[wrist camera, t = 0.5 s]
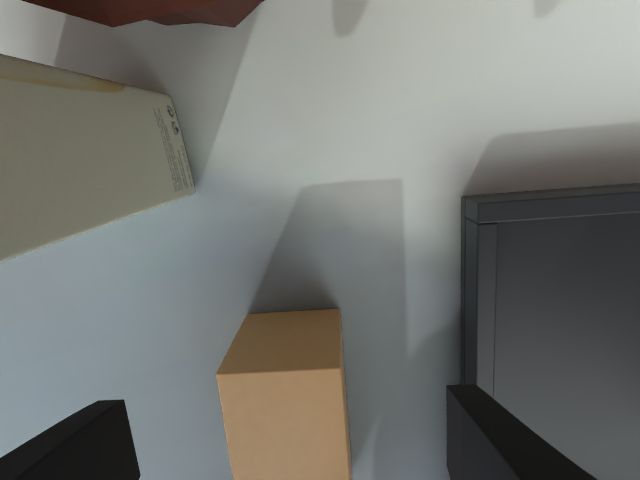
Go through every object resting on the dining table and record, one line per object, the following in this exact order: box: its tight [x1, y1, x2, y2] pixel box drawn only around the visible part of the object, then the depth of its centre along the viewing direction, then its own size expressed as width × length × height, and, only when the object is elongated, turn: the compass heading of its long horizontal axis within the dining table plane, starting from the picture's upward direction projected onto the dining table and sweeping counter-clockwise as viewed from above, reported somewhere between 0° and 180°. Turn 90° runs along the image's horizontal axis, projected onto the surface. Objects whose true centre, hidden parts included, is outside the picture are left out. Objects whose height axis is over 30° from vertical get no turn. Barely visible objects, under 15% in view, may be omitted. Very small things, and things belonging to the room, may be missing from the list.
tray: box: [461, 183, 640, 480], centre depth 17 cm, size 18×13×2 cm
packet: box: [216, 309, 353, 480], centre depth 17 cm, size 9×4×5 cm, turn 5°
